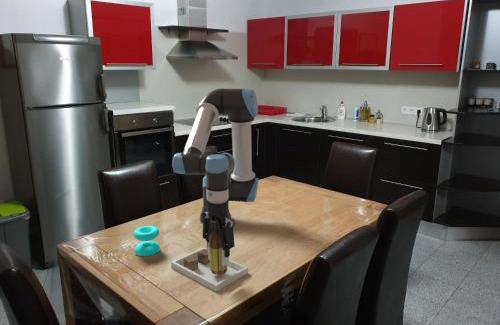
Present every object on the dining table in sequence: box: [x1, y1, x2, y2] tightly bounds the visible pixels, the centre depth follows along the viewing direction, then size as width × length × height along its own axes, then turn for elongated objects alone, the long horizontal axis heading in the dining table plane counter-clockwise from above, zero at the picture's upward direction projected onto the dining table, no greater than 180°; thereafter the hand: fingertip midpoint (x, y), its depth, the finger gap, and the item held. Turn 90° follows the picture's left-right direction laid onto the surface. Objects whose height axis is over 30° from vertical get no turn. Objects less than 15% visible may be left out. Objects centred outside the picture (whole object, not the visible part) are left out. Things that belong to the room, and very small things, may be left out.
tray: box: [170, 246, 249, 293], centre depth 143 cm, size 24×16×3 cm, turn 49°
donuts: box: [133, 225, 161, 257], centre depth 157 cm, size 10×10×10 cm
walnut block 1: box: [184, 255, 198, 271], centre depth 144 cm, size 4×4×4 cm
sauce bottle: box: [209, 220, 228, 275], centre depth 137 cm, size 7×6×20 cm
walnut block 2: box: [197, 248, 210, 265], centre depth 149 cm, size 4×4×4 cm
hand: (218, 261), depth 139 cm, fingers closed on sauce bottle, 6 cm apart
